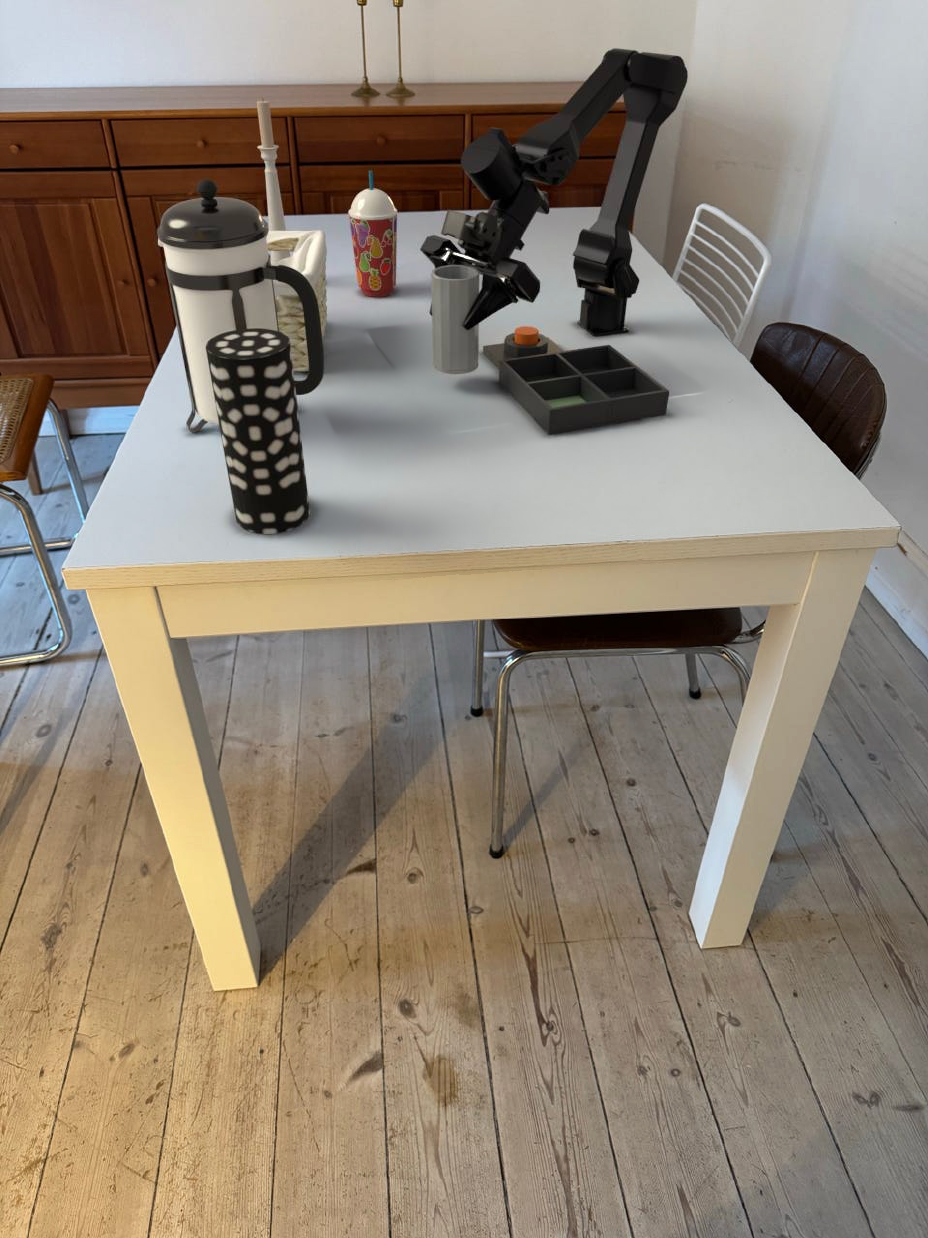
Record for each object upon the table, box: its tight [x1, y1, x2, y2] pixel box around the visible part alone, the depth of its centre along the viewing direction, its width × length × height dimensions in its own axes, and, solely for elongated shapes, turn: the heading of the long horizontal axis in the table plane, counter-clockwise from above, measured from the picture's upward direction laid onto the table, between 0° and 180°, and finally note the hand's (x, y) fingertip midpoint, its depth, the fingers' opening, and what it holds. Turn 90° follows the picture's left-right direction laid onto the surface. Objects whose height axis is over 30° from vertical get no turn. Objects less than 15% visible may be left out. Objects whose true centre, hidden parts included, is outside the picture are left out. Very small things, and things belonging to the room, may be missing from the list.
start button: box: [514, 325, 540, 345], centre depth 138 cm, size 4×4×2 cm
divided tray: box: [498, 344, 670, 435], centre depth 128 cm, size 18×18×4 cm
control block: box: [482, 332, 565, 370], centre depth 139 cm, size 11×8×3 cm
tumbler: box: [430, 265, 480, 375], centre depth 126 cm, size 6×6×13 cm
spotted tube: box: [206, 328, 311, 535], centre depth 98 cm, size 8×8×20 cm
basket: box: [267, 229, 328, 372], centre depth 139 cm, size 24×16×15 cm
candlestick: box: [256, 98, 292, 263], centre depth 159 cm, size 13×13×30 cm
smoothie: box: [348, 170, 398, 298], centre depth 158 cm, size 8×8×20 cm
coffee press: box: [156, 178, 325, 434], centre depth 114 cm, size 17×16×30 cm
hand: (448, 321), depth 125 cm, fingers closed on tumbler, 6 cm apart
